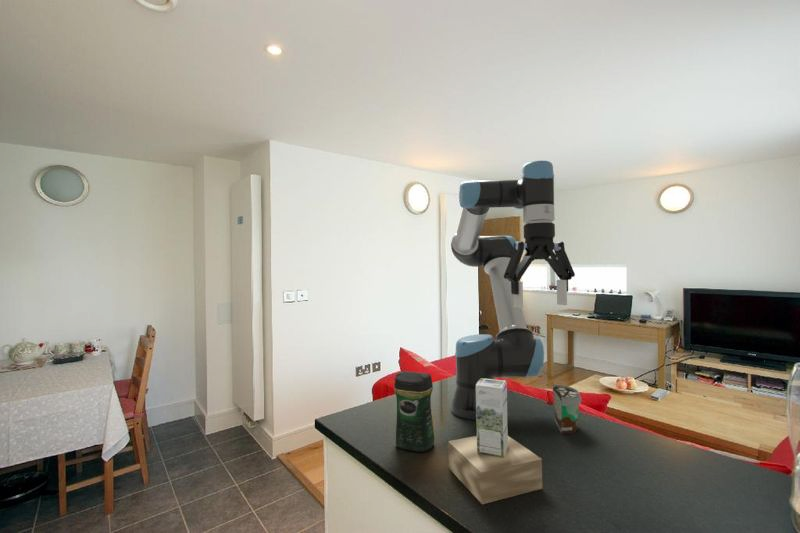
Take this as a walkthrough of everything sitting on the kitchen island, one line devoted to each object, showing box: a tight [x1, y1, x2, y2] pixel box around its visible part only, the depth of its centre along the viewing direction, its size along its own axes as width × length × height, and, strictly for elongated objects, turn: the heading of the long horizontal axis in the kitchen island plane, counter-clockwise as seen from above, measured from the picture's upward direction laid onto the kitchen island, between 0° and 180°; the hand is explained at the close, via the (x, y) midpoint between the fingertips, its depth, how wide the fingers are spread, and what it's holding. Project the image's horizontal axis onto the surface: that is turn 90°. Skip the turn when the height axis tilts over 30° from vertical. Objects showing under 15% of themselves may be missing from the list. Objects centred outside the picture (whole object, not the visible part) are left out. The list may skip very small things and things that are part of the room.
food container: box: [552, 383, 582, 434], centre depth 105 cm, size 12×6×10 cm, turn 168°
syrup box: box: [475, 378, 509, 457], centre depth 80 cm, size 6×6×14 cm
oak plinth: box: [447, 435, 543, 505], centre depth 80 cm, size 14×14×6 cm
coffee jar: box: [393, 370, 435, 453], centre depth 96 cm, size 10×8×19 cm
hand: (540, 306), depth 96 cm, fingers open, 13 cm apart
